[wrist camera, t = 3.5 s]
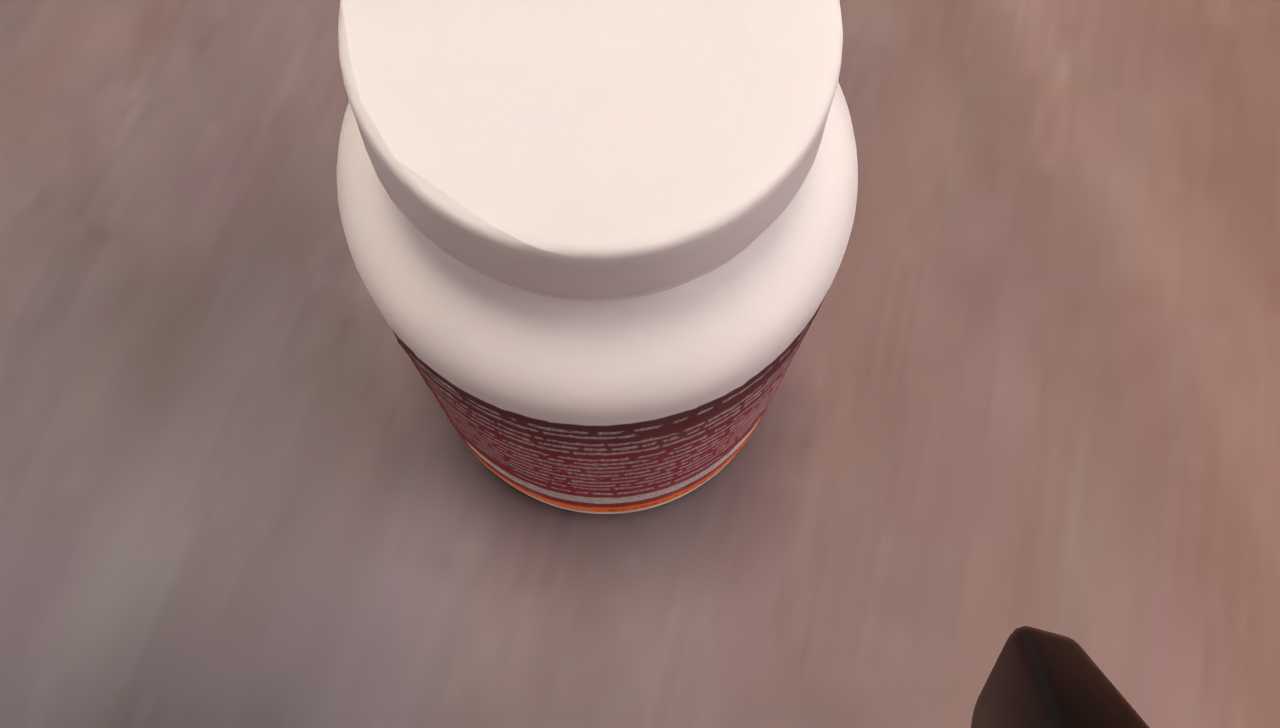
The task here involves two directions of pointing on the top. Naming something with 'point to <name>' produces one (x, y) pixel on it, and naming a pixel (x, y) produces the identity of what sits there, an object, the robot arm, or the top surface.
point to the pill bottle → (597, 222)
